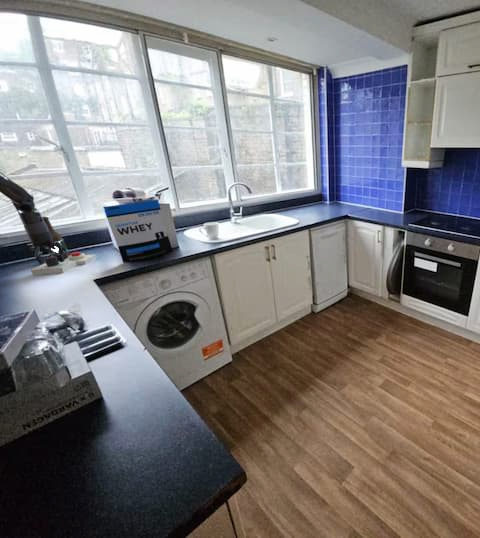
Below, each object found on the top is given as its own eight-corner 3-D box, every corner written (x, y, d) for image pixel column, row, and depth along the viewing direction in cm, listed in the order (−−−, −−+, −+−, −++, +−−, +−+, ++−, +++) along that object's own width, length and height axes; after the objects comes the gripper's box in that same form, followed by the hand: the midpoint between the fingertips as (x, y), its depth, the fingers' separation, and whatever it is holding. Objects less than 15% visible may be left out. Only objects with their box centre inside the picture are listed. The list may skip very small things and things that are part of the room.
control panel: (33, 275, 144) (30, 269, 143) (48, 268, 153) (45, 262, 152) (63, 272, 146) (61, 267, 145) (77, 265, 155) (74, 260, 154)
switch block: (59, 266, 155) (56, 259, 153) (72, 260, 164) (69, 253, 162) (86, 264, 157) (83, 257, 155) (97, 257, 166) (94, 251, 164)
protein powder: (120, 261, 160) (100, 206, 148) (169, 249, 177) (154, 199, 166) (126, 264, 154) (105, 208, 143) (175, 252, 172) (161, 200, 160)
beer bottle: (71, 255, 170) (53, 215, 161) (70, 259, 165) (52, 217, 155) (53, 259, 166) (33, 217, 156) (51, 262, 160) (31, 219, 151)
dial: (55, 266, 147) (51, 258, 145) (45, 267, 146) (41, 259, 144) (61, 263, 151) (58, 255, 149) (51, 263, 150) (47, 256, 148)
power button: (70, 257, 157) (69, 254, 156) (74, 255, 160) (73, 252, 159) (78, 256, 158) (76, 253, 157) (82, 254, 161) (81, 251, 160)
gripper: (13, 234, 137) (30, 266, 143) (49, 232, 139) (63, 263, 146) (26, 230, 144) (42, 261, 150) (60, 228, 146) (74, 258, 153)
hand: (52, 262), depth 148 cm, fingers open, 8 cm apart
